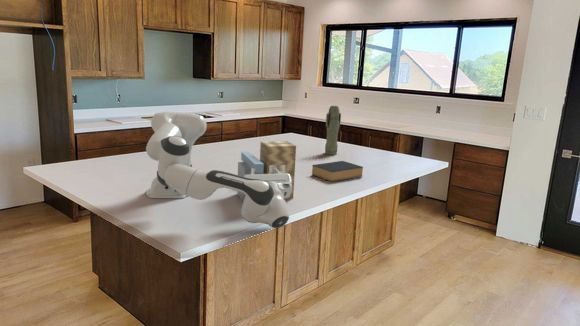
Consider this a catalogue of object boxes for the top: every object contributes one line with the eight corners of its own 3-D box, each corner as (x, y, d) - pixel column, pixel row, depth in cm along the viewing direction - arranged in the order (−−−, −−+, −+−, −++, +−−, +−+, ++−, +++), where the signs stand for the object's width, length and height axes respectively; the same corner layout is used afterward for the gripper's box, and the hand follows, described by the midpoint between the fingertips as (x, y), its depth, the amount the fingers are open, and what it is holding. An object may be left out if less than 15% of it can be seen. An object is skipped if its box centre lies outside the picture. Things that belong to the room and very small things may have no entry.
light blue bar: (254, 172, 192) (254, 164, 192) (241, 159, 216) (241, 151, 215) (263, 172, 194) (263, 163, 193) (248, 159, 218) (249, 151, 217)
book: (311, 175, 257) (312, 164, 256) (341, 171, 272) (342, 160, 271) (331, 183, 244) (332, 171, 242) (362, 177, 259) (363, 166, 257)
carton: (265, 200, 207) (268, 146, 201) (258, 192, 218) (260, 141, 212) (293, 198, 212) (296, 145, 206) (284, 191, 223) (287, 140, 217)
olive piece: (320, 153, 320) (324, 105, 312) (332, 151, 327) (336, 105, 319) (328, 155, 313) (332, 107, 305) (340, 154, 320) (344, 106, 312)
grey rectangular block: (243, 202, 202) (244, 168, 199) (237, 193, 214) (238, 162, 210) (262, 200, 205) (263, 168, 202) (254, 192, 217) (255, 161, 214)
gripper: (244, 199, 175) (238, 174, 184) (292, 196, 182) (284, 173, 191) (247, 188, 171) (240, 164, 180) (296, 186, 177) (287, 162, 187)
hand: (263, 168), depth 186 cm, fingers open, 8 cm apart
